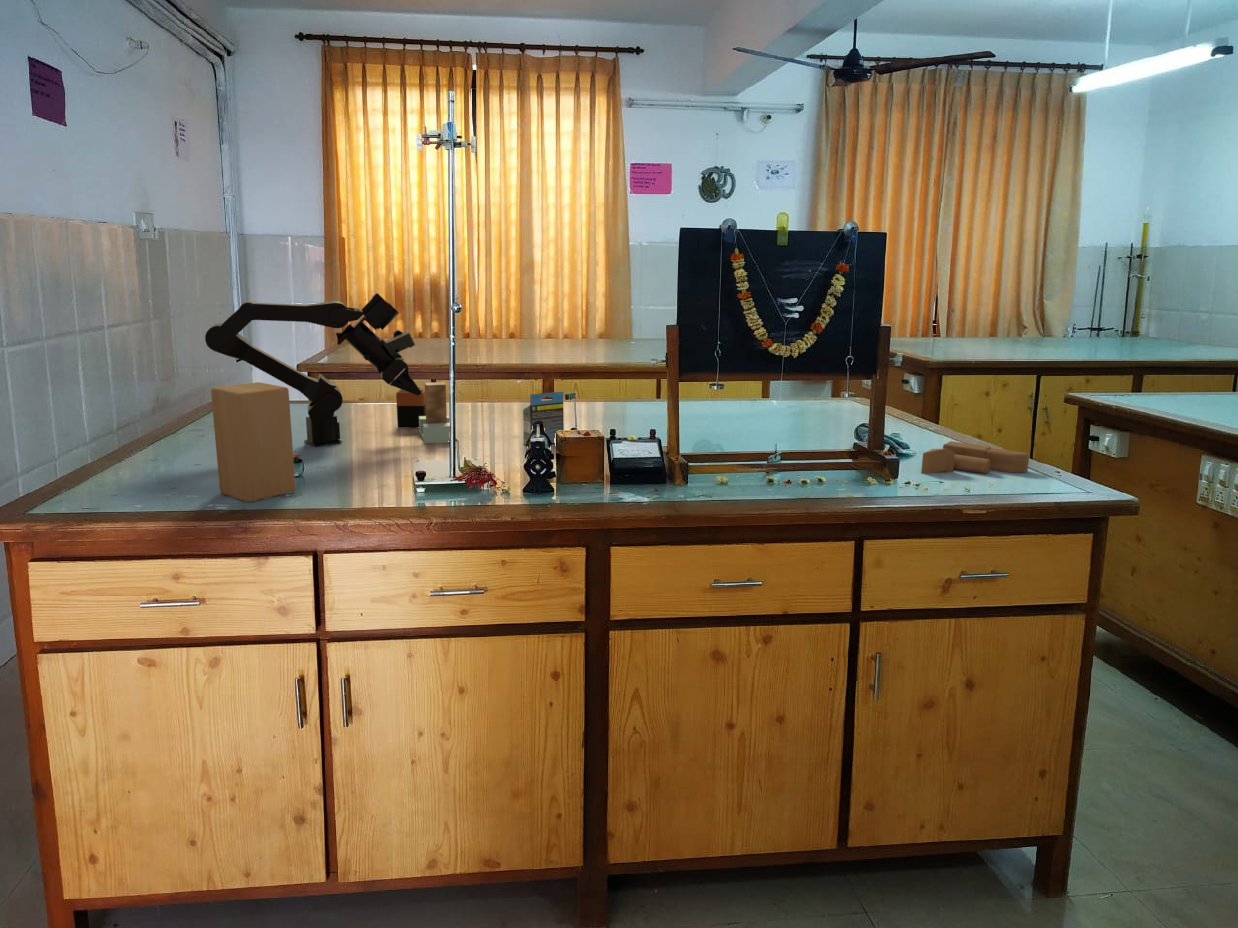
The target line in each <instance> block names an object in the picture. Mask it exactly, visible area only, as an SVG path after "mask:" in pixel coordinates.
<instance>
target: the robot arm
mask: <svg viewBox="0 0 1238 928" xmlns="http://www.w3.org/2000/svg"><path fill="white" fill-rule="evenodd" d="M399 314H400V312H399V311H398V310H397V309H396V308H395V307H394V306H392V304H391V303H390V302H389V301H387V300H385V299H384V297H382V296H381V295H380V294H379V293H378V292H376V293H374V294H373V295H372V297H371V299H370V300H369V301H368V302H367V303H366V304H364V305H363V307H362V308H358V307H349V306H346V304H344V303H343V302H341V301H338V300H333V301H332V300H331V301H324V302H316V303H313V304H312V303H311V304H296V303H295V304H291V303H286V304H285V303H267V302H264V303H263V302H253V301H250V300H249V301H244V302H243V303H242V304H241V305H240V306H239V308H238V309H237V310H236V311H234V313H232V314H231V315H230V316H229V317H228V318H227V319H225V321H224V322H222V323H221V322H220V323H219V322H218V323H215V324H213V325H212V326H211V327H210V328H209V329H208V330H207V331H206V333H205V336H204V341H205V343H206V346H207V347H208V348H209V349H210V350H211V351H213V352H215V353H219V354H221V355H224V356H227V357H230V358H233V359H238V360H242V361H244V362H246V363H247V364H249V365H251V366H253V367H255V368H256V369H258V370H259V371H262V372H263V373H265V374H268V375H269V376H271V377H272V378H275V379H276V380H279V381H280V382H282V383H284V384H285V385H287V386H288V387H291V388H293V389H295V390H297V391H298V392H300V393H301V394H302V395H303V396H304V397H305V398H307V400H308V401H310V403H308V405H307V414H308V416H306V417H305V425H306V439H304V443H306V444H308V445H311V446H314V447H321V446H328V445H330V446H331V445H336V444H341V443H342V442H343V441H342V440H340V439H341V429H340V425H341V424H340V422H339V421H338V415H335V412H336V411H338V410H339V409H340V408H341V407H342V406H343V405H342V404H343V400H344V399H343V395H342V391H341V389H340V388H339V387H338V385H337V382H336V381H332V380H329V379H328V378H327V377H325V376H324V375H323V374H321V373H320V374H318V377H317V378H314V377H311V376H308V375H306V374H305V373H303V372H301V371H300V370H298V369H296V368H294V367H292V366H290V365H288V364H287V363H285V362H283V361H281V360H280V359H278V358H276V357H274V356H273V355H271V354H269V353H267V352H265V351H264V350H261V349H260V348H258V347H257V346H255V345H253V344H251V342H249V341H248V340H247V339H246V338H245V337H244V336H243V335H242V334H240V332H241V331H243V329H244V328H246V327H247V326H248V325H249V323H251V322H252V321H269V322H271V321H272V322H298V323H301V322H302V323H309V324H314V325H319V326H323V327H327V328H332V329H341V328H344V329H343V330H341V331H340V332H339V331H336V332H335V335H336V343H337V345H338V346H340V345H341V344H342V343H343V342H344V341H346V342H347V343H348V344H349V345H350V346H351V347H352V348H353V349H354V350H356V352H358V353H359V354H360V355H361V356H362V357H363V359H364V360H365V361H367V362H368V363H369V364H371V366H373V367H374V368H375V369H376V371H377V372H378V373H379V374H381V375H380V377H381V380H383V381H384V382H385V383H386V384H387V385H389V386H391V387H395V388H397V389H399V390H401V389H402V390H405V391H407V392H410V393H412V394H415V395H418V396H419V395H420V394H421V391H420V390H421V389H420V390H419V388H418V387H419V386H418V385H417V383H416V382H415V381H414V379H413V378H412V376H411V375H410V374H409V369H410V368H409V365H408V363H406V361H405V359H404V357H403V356H402V355H401V354H400V352H402V351H404V350H406V349H408V348H409V349H410V348H413V347H414V346H415V345H416V344H415V343H416V342H415V341H414V339H413V337H412V335H411V333H410V331H408V330H407V331H404V332H402V331H401V330H400V329H397V330H395V331H393V334H392V337H391V338H390V339H387V340H385V339H383V337H381V338H380V337H379V336H378V335H377V334H376V333H375V332H374V331H373V330H375V331H377V330H379V329H380V330H382V331H384V329H385V328H387V327H388V325H389V324H390V323H391V322H392V321H394V320H395V318H396V317H397V316H398V315H399ZM355 321H357V322H356V323H355V324H354V325H353V324H351V323H349V322H355ZM364 321H365V322H366V323H367V324H369V326H370V327H371V328H372V329H373V330H372V329H370V327H368V325H366V324H365V323H364ZM348 323H349V324H348ZM345 326H346V327H345Z"/></svg>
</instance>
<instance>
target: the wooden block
mask: <svg viewBox="0 0 1238 928" xmlns="http://www.w3.org/2000/svg"><path fill="white" fill-rule="evenodd" d="M210 394H211V406H212V418H213V428H214V437H215V438H214V439H215V449H216V461H217V462H216V464H217V472H218V474H217V475H218V482H219V484H218V485H219V492H220V494H221V495H224V494H225V496H227V495H228V496H227V497H230V496H231V498H233V497H234V498H233V499H236V498H237V500H239V499H240V501H242V500H243V501H242V502H245V501H246V503H251V502H250V501H253V502H256V501H255V500H258V501H261V500H260V499H262V500H266V499H265V498H267V499H270V498H269V497H271V498H274V497H273V496H276V497H278V496H277V495H280V496H283V495H282V494H285V495H287V494H286V493H290V492H294V491H295V492H296V477H295V476H296V475H295V464H294V463H295V462H294V449H293V447H294V446H293V433H292V420H291V417H292V416H291V407H290V406H291V405H290V393H289V388H288V387H284V386H280V385H275V384H269V383H265V382H260V381H259V382H248V383H242V384H233V385H225V386H217V387H212V388H211V389H210ZM295 492H294V493H295ZM290 494H291V493H290Z"/></svg>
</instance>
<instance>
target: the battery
mask: <svg viewBox="0 0 1238 928" xmlns="http://www.w3.org/2000/svg"><path fill="white" fill-rule="evenodd" d="M418 388H419V390H420V391H421V394H420V395H419V396H418V395H415V394H412V393H410V392H407V391H405V390H402V389H399V390H398V391H397V392H396V393H395V396H396V398H395V399H396V419H397V427H398V428H399V427H419V416H426V406H425V389H422V386H418Z"/></svg>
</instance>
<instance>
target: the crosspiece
mask: <svg viewBox="0 0 1238 928" xmlns="http://www.w3.org/2000/svg"><path fill="white" fill-rule="evenodd" d="M449 421H451V419H450V416H449V415H448V414H447V423H432V424H426V416H419V428H418V431H419V435H420V437H421V438H422V441H423V443H424V444H425V443H426V444H425V445H428V444H427V443H435V444H449V443H448V440H449V432H450V423H451V422H450V423H449Z"/></svg>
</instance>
